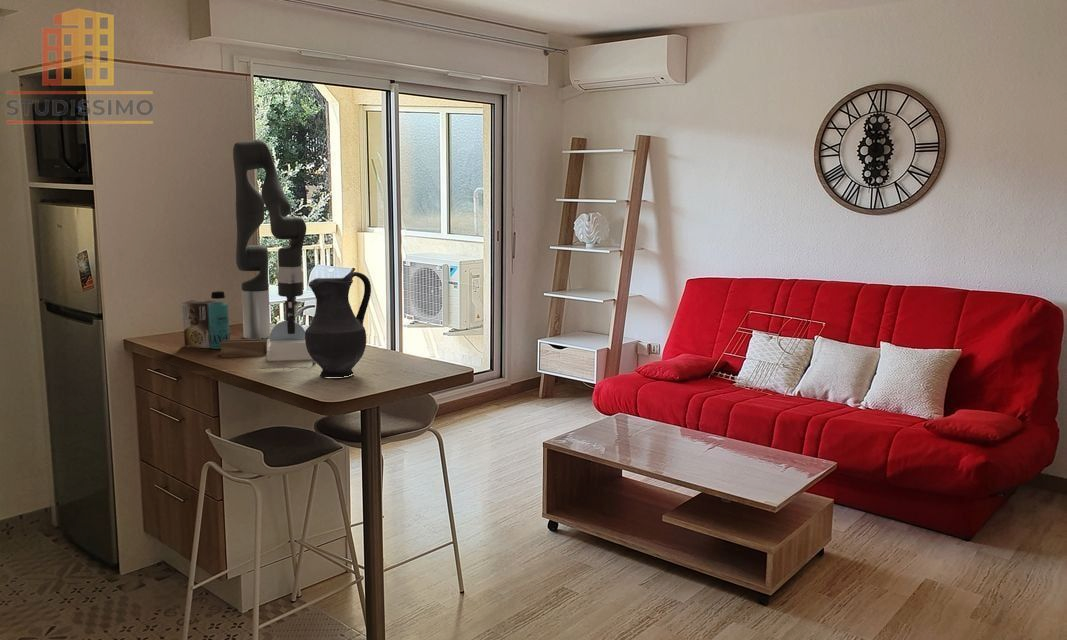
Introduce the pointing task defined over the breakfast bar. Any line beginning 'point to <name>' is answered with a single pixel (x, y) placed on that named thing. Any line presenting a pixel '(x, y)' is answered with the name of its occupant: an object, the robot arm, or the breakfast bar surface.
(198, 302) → the coffee box
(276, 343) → the rack
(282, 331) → the plate
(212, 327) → the beverage bottle
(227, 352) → the stand
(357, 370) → the breakfast bar surface
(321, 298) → the pitcher
